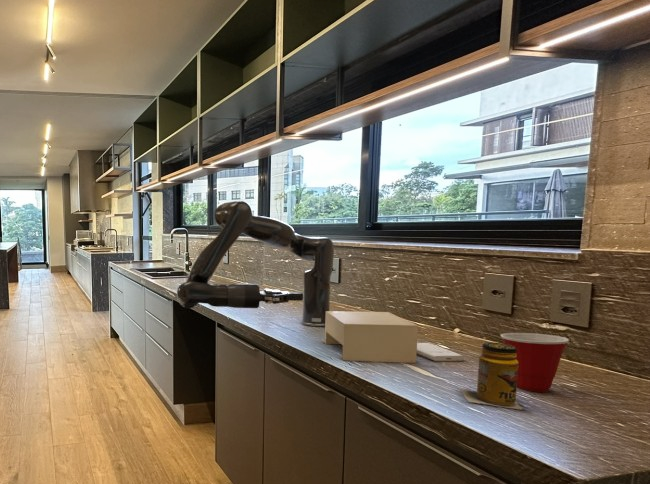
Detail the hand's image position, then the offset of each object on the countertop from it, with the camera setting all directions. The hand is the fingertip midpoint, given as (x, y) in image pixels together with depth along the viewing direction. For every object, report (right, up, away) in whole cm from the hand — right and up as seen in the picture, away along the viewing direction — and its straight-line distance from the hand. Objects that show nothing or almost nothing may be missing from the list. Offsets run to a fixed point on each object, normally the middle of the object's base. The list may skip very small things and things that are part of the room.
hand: (302, 296), depth 123 cm
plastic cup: (+38, -19, -30) cm, 52 cm away
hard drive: (+35, -16, -5) cm, 39 cm away
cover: (+18, -16, -2) cm, 24 cm away
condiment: (+23, -20, -36) cm, 48 cm away
